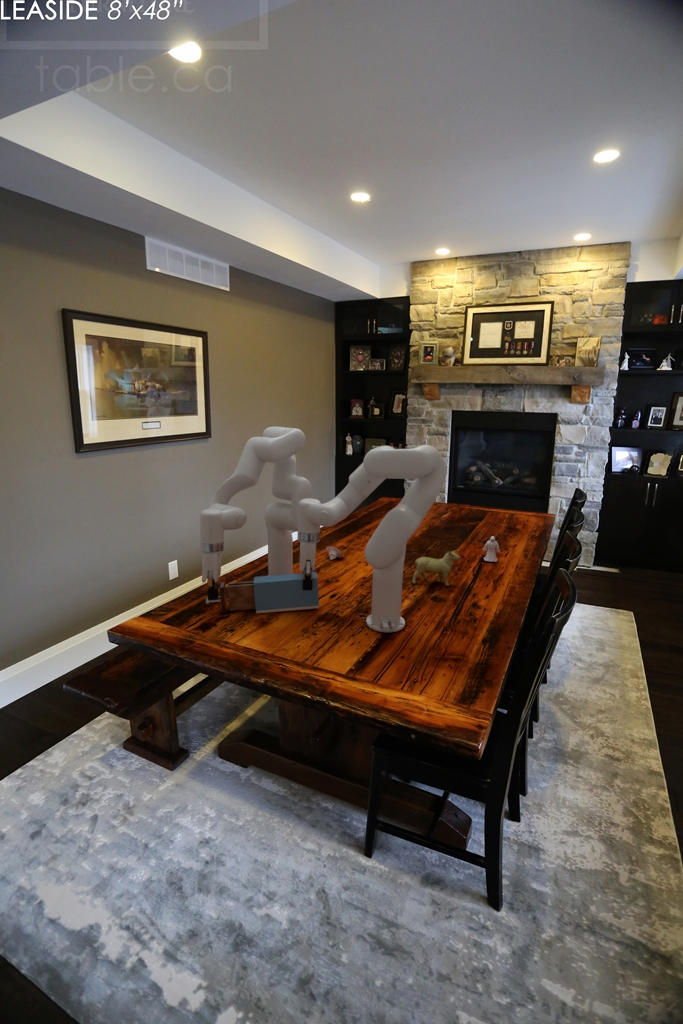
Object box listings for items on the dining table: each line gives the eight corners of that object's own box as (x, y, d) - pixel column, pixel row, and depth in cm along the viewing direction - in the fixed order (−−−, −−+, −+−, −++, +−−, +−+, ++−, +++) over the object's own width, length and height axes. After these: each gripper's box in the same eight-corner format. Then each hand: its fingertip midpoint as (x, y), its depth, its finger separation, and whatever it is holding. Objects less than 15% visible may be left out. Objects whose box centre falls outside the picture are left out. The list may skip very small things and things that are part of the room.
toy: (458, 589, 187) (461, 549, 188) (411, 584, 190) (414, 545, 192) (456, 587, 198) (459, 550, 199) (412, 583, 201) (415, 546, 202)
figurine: (481, 562, 222) (483, 536, 219) (482, 556, 230) (484, 531, 227) (499, 564, 220) (501, 538, 217) (499, 558, 228) (501, 533, 225)
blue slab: (256, 613, 169) (253, 583, 166) (257, 606, 174) (254, 576, 171) (319, 608, 171) (317, 578, 168) (318, 601, 176) (316, 571, 173)
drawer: (206, 614, 167) (203, 588, 165) (208, 608, 172) (205, 583, 170) (283, 608, 170) (281, 582, 167) (283, 602, 174) (281, 577, 172)
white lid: (330, 566, 224) (319, 552, 223) (336, 559, 227) (325, 546, 227) (340, 561, 218) (328, 547, 217) (346, 554, 221) (335, 540, 220)
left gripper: (204, 540, 171) (205, 590, 175) (196, 553, 157) (197, 607, 160) (227, 540, 172) (227, 591, 176) (220, 553, 157) (220, 608, 161)
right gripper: (297, 528, 175) (296, 576, 179) (297, 543, 158) (295, 596, 163) (319, 528, 175) (317, 576, 180) (320, 544, 159) (319, 596, 163)
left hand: (212, 598), depth 168 cm, fingers closed
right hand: (307, 585), depth 171 cm, fingers closed on blue slab, 5 cm apart
